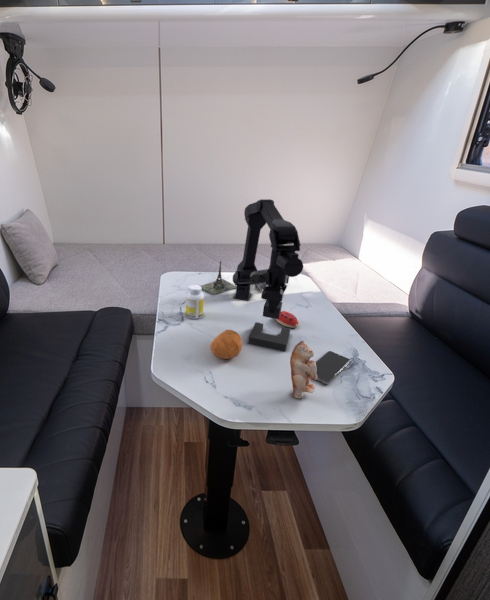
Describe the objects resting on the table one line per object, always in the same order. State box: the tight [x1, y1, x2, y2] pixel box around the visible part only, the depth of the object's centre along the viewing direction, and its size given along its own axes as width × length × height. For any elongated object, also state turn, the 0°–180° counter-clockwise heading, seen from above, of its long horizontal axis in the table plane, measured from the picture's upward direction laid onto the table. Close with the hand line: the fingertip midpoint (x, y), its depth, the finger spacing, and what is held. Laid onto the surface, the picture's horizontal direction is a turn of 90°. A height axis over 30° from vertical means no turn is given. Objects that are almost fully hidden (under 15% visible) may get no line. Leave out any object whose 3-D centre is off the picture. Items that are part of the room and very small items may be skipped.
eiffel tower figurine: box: [200, 260, 237, 295], centre depth 161 cm, size 15×10×13 cm
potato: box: [210, 329, 243, 360], centre depth 115 cm, size 9×11×8 cm
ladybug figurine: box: [275, 310, 299, 329], centre depth 135 cm, size 7×10×4 cm
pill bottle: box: [185, 284, 205, 320], centre depth 138 cm, size 6×6×12 cm
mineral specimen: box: [255, 282, 269, 291], centre depth 164 cm, size 12×9×10 cm
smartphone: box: [314, 350, 352, 385], centre depth 111 cm, size 7×1×16 cm
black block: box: [262, 299, 283, 320], centre depth 124 cm, size 5×5×4 cm
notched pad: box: [247, 321, 291, 352], centre depth 125 cm, size 11×12×2 cm
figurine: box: [289, 340, 317, 399], centre depth 98 cm, size 6×8×15 cm
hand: (272, 309), depth 124 cm, fingers closed on black block, 5 cm apart
